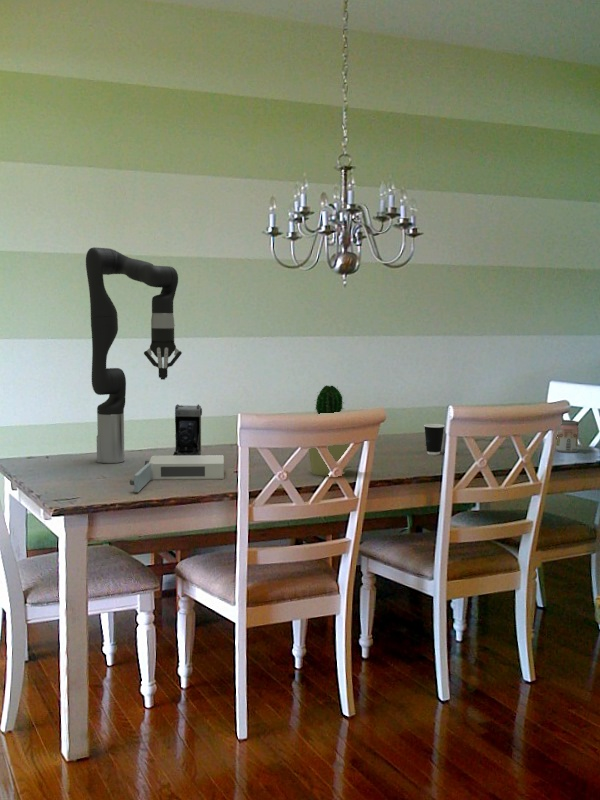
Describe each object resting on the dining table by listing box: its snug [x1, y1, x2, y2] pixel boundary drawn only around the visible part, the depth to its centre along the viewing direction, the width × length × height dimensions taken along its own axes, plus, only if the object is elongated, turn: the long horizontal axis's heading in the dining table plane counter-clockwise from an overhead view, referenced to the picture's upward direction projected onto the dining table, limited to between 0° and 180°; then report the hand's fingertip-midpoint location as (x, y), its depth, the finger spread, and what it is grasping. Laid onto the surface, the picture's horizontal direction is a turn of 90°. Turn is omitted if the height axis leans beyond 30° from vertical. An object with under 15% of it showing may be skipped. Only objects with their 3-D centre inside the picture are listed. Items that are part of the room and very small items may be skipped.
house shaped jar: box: [555, 419, 580, 454], centre depth 340 cm, size 9×8×12 cm
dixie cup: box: [423, 423, 446, 456], centre depth 331 cm, size 8×8×11 cm
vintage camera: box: [172, 404, 203, 456], centre depth 311 cm, size 10×16×20 cm, turn 2°
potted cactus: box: [308, 384, 350, 477], centre depth 290 cm, size 15×15×30 cm
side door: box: [129, 463, 154, 493], centre depth 266 cm, size 21×3×5 cm, turn 179°
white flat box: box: [144, 454, 225, 481], centre depth 286 cm, size 26×16×5 cm, turn 95°
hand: (163, 379), depth 288 cm, fingers closed
